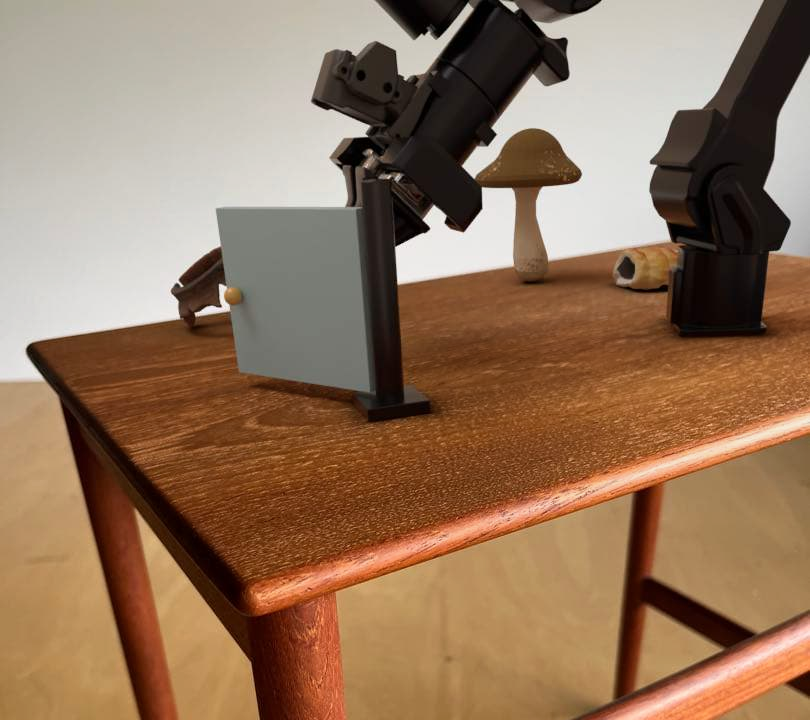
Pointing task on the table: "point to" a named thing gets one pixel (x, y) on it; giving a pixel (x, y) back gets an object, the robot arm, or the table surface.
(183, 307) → the broken clay pot shard
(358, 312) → the door
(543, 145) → the mushroom
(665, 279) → the pastry
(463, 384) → the table surface
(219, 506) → the table surface
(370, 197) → the door frame
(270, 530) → the table surface
